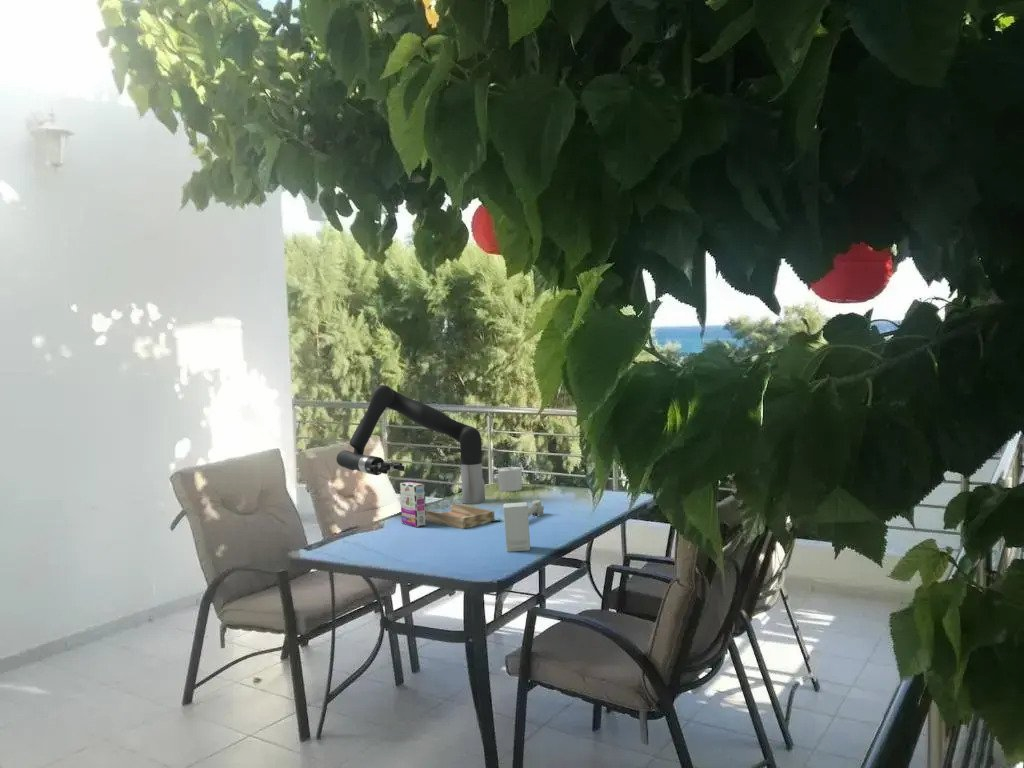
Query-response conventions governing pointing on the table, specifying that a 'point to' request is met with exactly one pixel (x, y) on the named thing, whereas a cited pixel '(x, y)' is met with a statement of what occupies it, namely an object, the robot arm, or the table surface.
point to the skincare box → (516, 527)
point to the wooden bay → (461, 516)
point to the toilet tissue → (510, 479)
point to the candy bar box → (413, 503)
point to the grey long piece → (535, 508)
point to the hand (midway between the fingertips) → (395, 469)
